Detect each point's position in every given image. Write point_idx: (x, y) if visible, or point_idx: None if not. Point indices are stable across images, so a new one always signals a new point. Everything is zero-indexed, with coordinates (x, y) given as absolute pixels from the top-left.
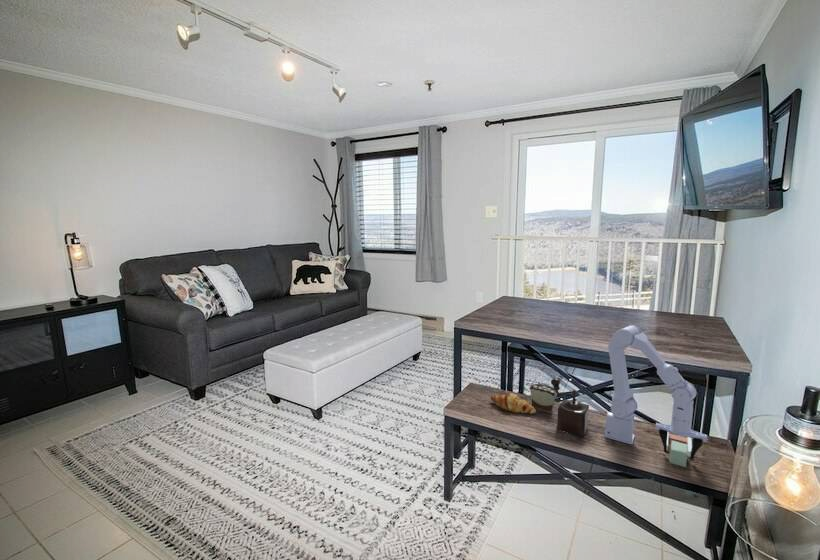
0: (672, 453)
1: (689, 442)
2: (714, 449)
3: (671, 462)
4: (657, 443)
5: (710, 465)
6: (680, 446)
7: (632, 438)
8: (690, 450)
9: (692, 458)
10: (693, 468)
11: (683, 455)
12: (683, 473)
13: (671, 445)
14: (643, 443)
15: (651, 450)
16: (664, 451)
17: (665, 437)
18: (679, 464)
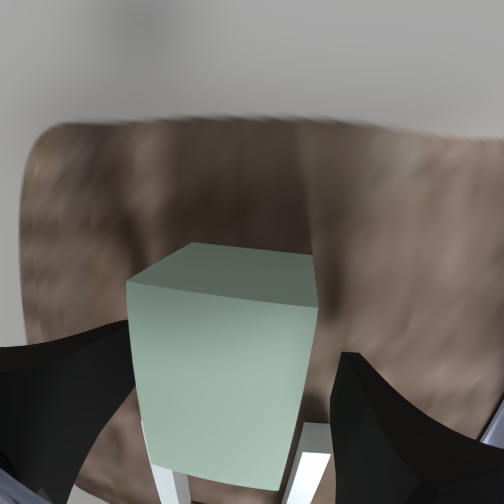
0: (299, 288)
1: (169, 499)
2: (92, 469)
3: (301, 254)
4: None
5: None
6: (199, 427)
7: (490, 436)
8: None
9: (123, 321)
10: (143, 251)
11: (176, 277)
12: (217, 121)
13: (296, 420)
14: None
15: (420, 378)
16: (359, 353)
17: (433, 465)
18: (237, 247)
